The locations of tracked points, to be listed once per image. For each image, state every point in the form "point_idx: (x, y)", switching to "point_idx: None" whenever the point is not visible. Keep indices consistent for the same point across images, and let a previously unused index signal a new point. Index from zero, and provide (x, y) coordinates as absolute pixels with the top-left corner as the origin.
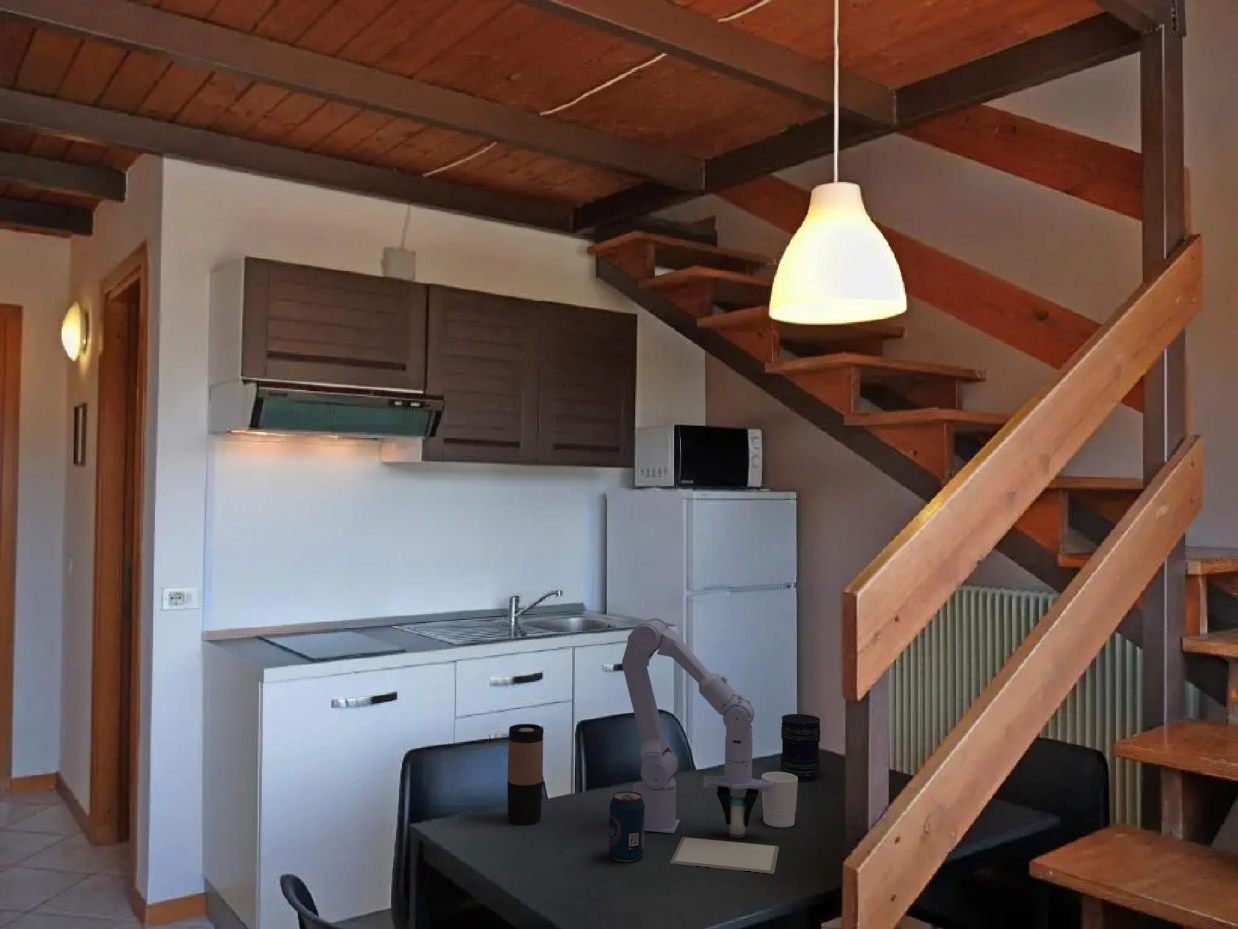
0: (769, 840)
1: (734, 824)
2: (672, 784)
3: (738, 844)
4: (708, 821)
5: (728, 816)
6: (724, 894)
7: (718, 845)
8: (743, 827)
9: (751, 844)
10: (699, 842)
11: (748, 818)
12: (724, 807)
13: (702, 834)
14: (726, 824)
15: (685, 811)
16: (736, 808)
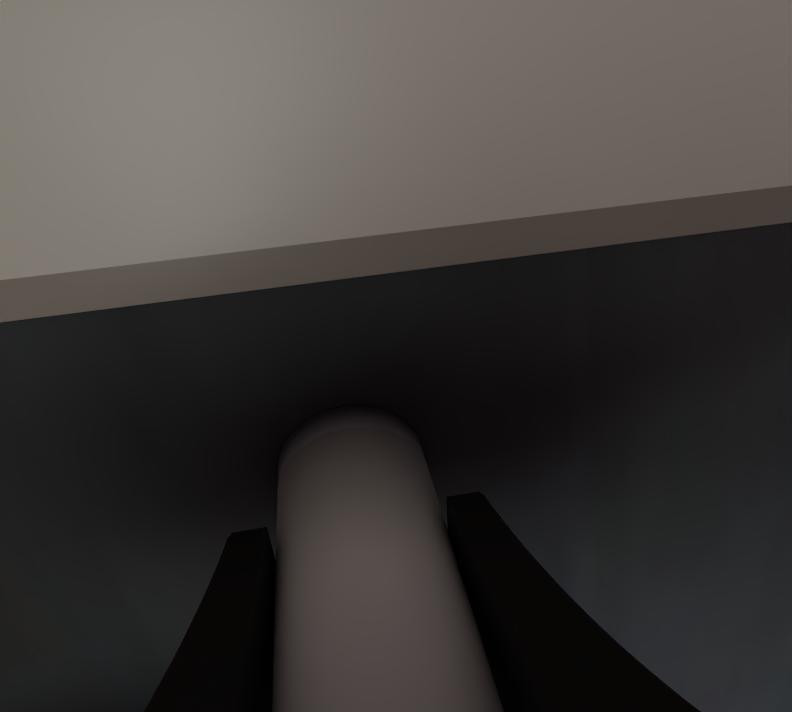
0: (16, 487)
1: (385, 502)
2: None
3: (253, 186)
4: (614, 621)
5: (485, 564)
6: None
7: (493, 43)
8: (282, 519)
9: (102, 252)
10: (730, 67)
11: (200, 614)
12: (599, 659)
13: (664, 378)
14: (479, 493)
15: (754, 685)
16: (393, 705)
